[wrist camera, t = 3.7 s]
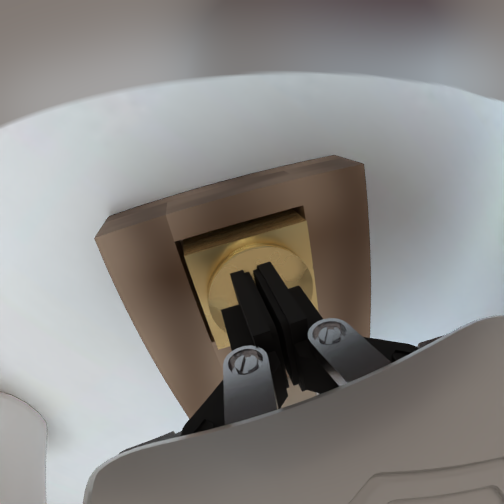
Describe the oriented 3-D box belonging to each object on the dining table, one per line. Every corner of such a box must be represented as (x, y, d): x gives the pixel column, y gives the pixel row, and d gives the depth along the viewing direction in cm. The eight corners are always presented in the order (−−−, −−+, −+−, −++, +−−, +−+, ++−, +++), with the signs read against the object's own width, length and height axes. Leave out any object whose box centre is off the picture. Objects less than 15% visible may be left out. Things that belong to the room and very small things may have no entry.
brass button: (283, 201, 15) (312, 225, 12) (298, 286, 17) (324, 324, 14) (182, 229, 14) (184, 262, 11) (210, 313, 17) (220, 358, 13)
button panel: (333, 155, 16) (363, 164, 13) (346, 433, 28) (358, 454, 25) (108, 216, 14) (94, 238, 12) (239, 469, 27) (245, 492, 24)
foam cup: (-43, 376, 15) (-87, 490, 4) (29, 379, 17) (-10, 531, 5) (9, 440, 19) (-10, 542, 8) (79, 447, 21) (73, 569, 9)
